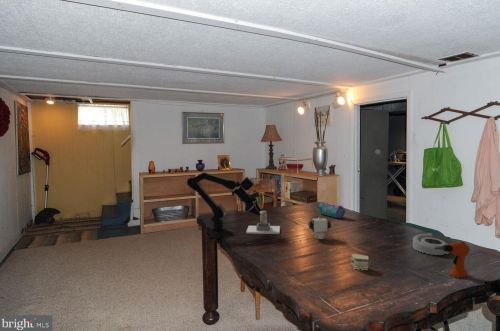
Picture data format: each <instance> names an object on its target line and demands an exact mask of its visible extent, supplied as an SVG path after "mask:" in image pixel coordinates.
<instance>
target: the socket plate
mask: <svg viewBox="0 0 500 331" xmlns="http://www.w3.org/2000/svg"><path fill="white" fill-rule="evenodd" d="M280 231H281V225H271V223H268V222H267V226H260V222H257V224H256V225H248V226H247V229H246V232H245V233H246V234H250V235H251V234H254V235H255V234H256V235H258V234H259V235H261V234H262V235H264V234H265V235H280V233H281V232H280Z"/></svg>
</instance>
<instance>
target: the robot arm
mask: <svg viewBox="0 0 500 331" xmlns="http://www.w3.org/2000/svg"><path fill="white" fill-rule="evenodd" d="M203 180H205V181H209V182H212V183H216V184H218V185H221V186H223V187H225V188H226V189H228V190H231V196H234V195H236V197H238V199H239V200H240V202H242V203H243V204H245V208H244V209H245V211H246V212H249V213H252V214H254V215H257V216H260V215H261V214H260V211H263V210H262V209H261V207H260V206H259V204H258V202H259V201H258V198H259V197H261V194H260V191H259V190H256V189H254V190H253V191H252V192H251V193H249V192H247V191H250V189H251V188H253V187H254V186H255V182H254V181H253V180H252V179H251V178H249V177H248V176H245V178H244V179H243V180H242V181H237V180H236V179H231V178H224V177H221V176H217V175H214V174H212V173H208V172H206V171H204V172H202V173H200V174H198V175H196V176H191V177H189V178H188V179H187V180H186V185H187V186H188V187H189V188H191V189H192V190H193V191H195V192H196V193H197V194H198V195H199V196H200V197H201V198H202V199H203V201H204V202H205V203H206V204H207V206H208V207H209V208H210V209H211V212H212V214H213V216H212V217H211V218H210V220H211V228H210V231H213V232H220V231H223V230H225V227H224V221H223V217H225V215H226V213H227V212H226V207H224V206H223V205H222V204H221V203H220V204H218V203H217V202H216V201H215V200H214V199H213V198H212V197H211V196H210V194H209V193H208V192H207V191H206V190H205V189H204V188H203V186H202V184H201V181H203Z"/></svg>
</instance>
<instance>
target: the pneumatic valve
mask: <svg viewBox="0 0 500 331" xmlns="http://www.w3.org/2000/svg"><path fill="white" fill-rule="evenodd" d="M307 224H308V229H309V230H311V231H312V233H313V232H315V233H314V234H313V236H314V238H315V239H317V240H324V238H325V236H326V235H325V233H324V232H329V230H330V229H331V227H332V223H331V221H330V220H329V219H327V218H326V217H324V218H323V217H322V218H321V217H318V218H310V220H309V221H308V223H307Z"/></svg>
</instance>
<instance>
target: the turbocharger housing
mask: <svg viewBox="0 0 500 331" xmlns="http://www.w3.org/2000/svg"><path fill="white" fill-rule="evenodd" d="M448 244H449V243H447V242H446V241H444V240H442V239H439V238H435V237H434V235H433V233H431V232H429V233H421V234H420V233H419V234H417V235H415V236H413V238H412V247H413V249H414V250H415V251H416V250H417V251H416V252H418V251H419V252H418V253H420V252H422V253H421V254H423V253H426V254H425V255H427V254H435V255H443V254H447V255H449V254H450V252H447V251H444V250H441V249H434V248H435V247H443V246H444V245H448Z"/></svg>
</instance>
